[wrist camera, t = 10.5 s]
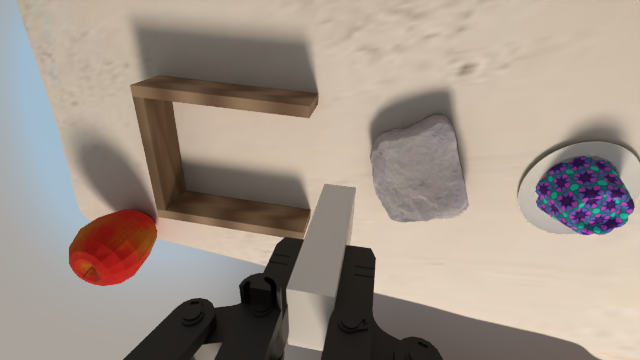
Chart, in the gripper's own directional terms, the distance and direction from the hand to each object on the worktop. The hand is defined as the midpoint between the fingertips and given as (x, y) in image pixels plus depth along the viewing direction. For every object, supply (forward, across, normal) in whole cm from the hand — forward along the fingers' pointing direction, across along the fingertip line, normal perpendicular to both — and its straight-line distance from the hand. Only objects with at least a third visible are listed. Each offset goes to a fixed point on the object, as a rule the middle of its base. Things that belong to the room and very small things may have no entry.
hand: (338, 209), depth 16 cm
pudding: (+24, +24, -9) cm, 35 cm away
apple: (+22, -32, -22) cm, 45 cm away
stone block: (+23, +6, -8) cm, 25 cm away
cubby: (+22, -16, -8) cm, 28 cm away
